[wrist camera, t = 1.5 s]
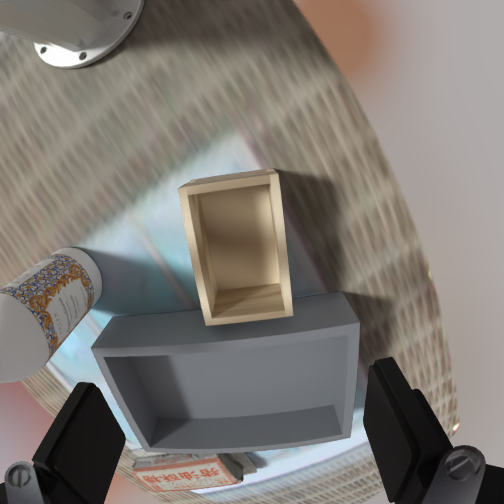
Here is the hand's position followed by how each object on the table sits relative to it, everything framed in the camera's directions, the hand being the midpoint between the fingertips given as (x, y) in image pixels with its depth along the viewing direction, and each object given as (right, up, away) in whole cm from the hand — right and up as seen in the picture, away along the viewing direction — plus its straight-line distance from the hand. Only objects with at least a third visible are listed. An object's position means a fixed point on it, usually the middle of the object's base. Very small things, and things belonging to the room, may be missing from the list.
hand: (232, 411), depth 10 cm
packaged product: (-9, -26, +31) cm, 42 cm away
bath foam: (-18, +3, +20) cm, 27 cm away
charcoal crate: (-1, -8, +24) cm, 25 cm away
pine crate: (0, +7, +19) cm, 20 cm away
